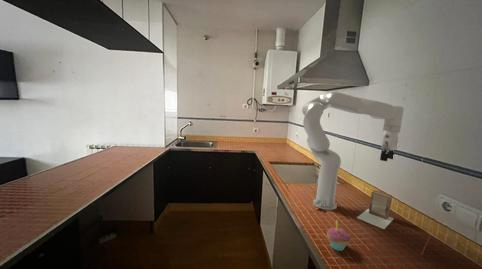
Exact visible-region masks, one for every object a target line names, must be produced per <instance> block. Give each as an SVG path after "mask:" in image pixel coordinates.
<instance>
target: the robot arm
mask: <svg viewBox="0 0 482 269" xmlns="http://www.w3.org/2000/svg"><path fill="white" fill-rule="evenodd" d="M328 108H332V109H337V110H340V111H343V112H348V113H350V114H351V113H352V114H357V115H366V116H368V115H369V116H370V118H372V119H377V120H378V119H379V120H383V128H382V131H383V135H382V142H381V150H380V151H381V152H380V159H379V161H383V162H388V159H389V160H394V159H393V155H394V156H395V153H393V151H394V150H397V149H398V147H397V143H398V144H399V137H398V134H399V133H401V128H402V122H403V116H404V110H405V108H404V107H403V106H400V105H392V104H389V103H385V102H381V101H378V100H373V99H367V98H364V97H359V96H358V97H357V96H354V95H350V94H346V93H342V92H338V91H329V92H325V93H323V94H321V95H319V96H317V97H315V98H313V99H311V100H309V101H308V102H306V103H305V104H304V105H303V106H302V109H301V112H302V114H303V115H304V118H303V122H302V123H303V129H304V131H305V132H306V135H307V138H306V143H307V146H308V148H309V149H310V151H311V154H312V156H314V158H315V160H316V161H317V162H318V164H319V163H320V164H321V166H320V168H319V171H318V180H317V189H316V197H315V198H314V199H313V201H312V205H313V206H315V207H317V208H319V209H321V210H326V211H334V210H336V209H337V207H338V205H337V204H336V203H335V199H336V191H337V190H336V189H337V184H338V175H339V170H340V168H341V163H342V161H341V160H342V159H341V157H340V155H339V154H338V153H337V152H335V151H333V150H332V149H329V148H330V145H331V143H330V140H329V138H328V136H327V135H326V133H325V131H324V129H323V127H322V125H321V118H322V115H323V114H324V111H325V110H327V109H328ZM399 135H400V134H399ZM392 150H393V151H392Z"/></svg>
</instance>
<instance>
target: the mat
mask: <svg viewBox="0 0 482 269" xmlns="http://www.w3.org/2000/svg"><path fill="white" fill-rule="evenodd" d="M356 219H358V220H361V221H363V222H366V223H368V224H370V225H373V226H375V227H377V228H380V229H383V230H385V229H386V228H387V227H388V226H389V225H390V224H391V223H392V221H393V220H394V219H395V218H393V217H391V216H389V218H388V219H387V220H386V219H383V218H380V217H378V216H375V215H373V214H370V213H369V208H367V209H366V210H365V211H363V212H362V213H360V214H359V215H358V216H357V217H356Z"/></svg>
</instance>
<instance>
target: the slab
mask: <svg viewBox="0 0 482 269" xmlns="http://www.w3.org/2000/svg"><path fill="white" fill-rule="evenodd" d="M392 199H393V195H392V194H389V193H386V192H382V191H379V190H375V189H374V190H372V191H371V194H370V203H369V208H368V209H369V213H370V214H373V215H375V216H378V217H380V218H383V219H386V220H387V219H388V218H389V217H390V214H391V213H390V212H391V205H392Z"/></svg>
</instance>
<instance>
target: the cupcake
mask: <svg viewBox="0 0 482 269" xmlns="http://www.w3.org/2000/svg"><path fill="white" fill-rule="evenodd" d="M338 226H339V221H338V219H336V220H335V227H331V228H329V229H327V231H326V237H327V239H328V240H329V244H330V247H331V248H332V249H334V250H335V251H339V252H342V251H344V249H345V248H346V247H347V245H350V243H351V236H350V234H349V233H348V232H347V231H345V229H344V228H343V229H342V228H340V227H338Z"/></svg>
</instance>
